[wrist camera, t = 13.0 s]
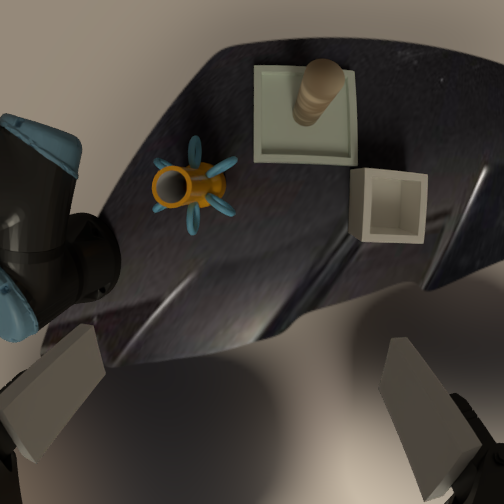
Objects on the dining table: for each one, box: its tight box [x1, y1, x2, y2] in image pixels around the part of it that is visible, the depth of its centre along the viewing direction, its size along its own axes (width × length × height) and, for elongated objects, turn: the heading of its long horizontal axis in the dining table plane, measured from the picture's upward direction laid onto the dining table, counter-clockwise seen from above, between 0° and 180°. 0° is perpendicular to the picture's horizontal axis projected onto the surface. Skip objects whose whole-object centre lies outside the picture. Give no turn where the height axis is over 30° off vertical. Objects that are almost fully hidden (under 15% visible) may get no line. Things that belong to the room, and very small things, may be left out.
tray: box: [254, 65, 358, 166], centre depth 37 cm, size 14×14×2 cm
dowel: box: [292, 59, 345, 126], centre depth 30 cm, size 4×4×16 cm
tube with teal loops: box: [152, 136, 238, 235], centre depth 34 cm, size 12×10×15 cm
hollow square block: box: [348, 168, 428, 244], centre depth 37 cm, size 9×9×7 cm
